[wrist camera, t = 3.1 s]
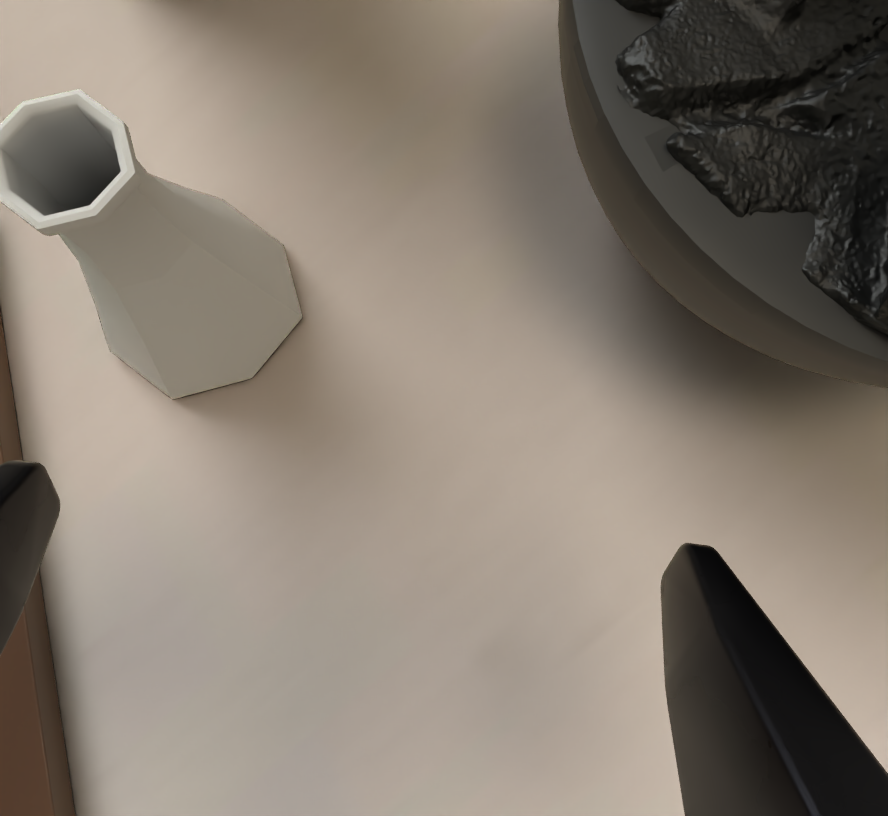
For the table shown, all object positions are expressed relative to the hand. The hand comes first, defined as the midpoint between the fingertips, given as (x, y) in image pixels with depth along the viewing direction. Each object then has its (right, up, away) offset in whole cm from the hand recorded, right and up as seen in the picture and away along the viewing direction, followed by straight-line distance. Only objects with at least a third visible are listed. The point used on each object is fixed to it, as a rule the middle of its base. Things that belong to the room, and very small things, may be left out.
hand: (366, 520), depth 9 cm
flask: (-8, +6, +15) cm, 18 cm away
